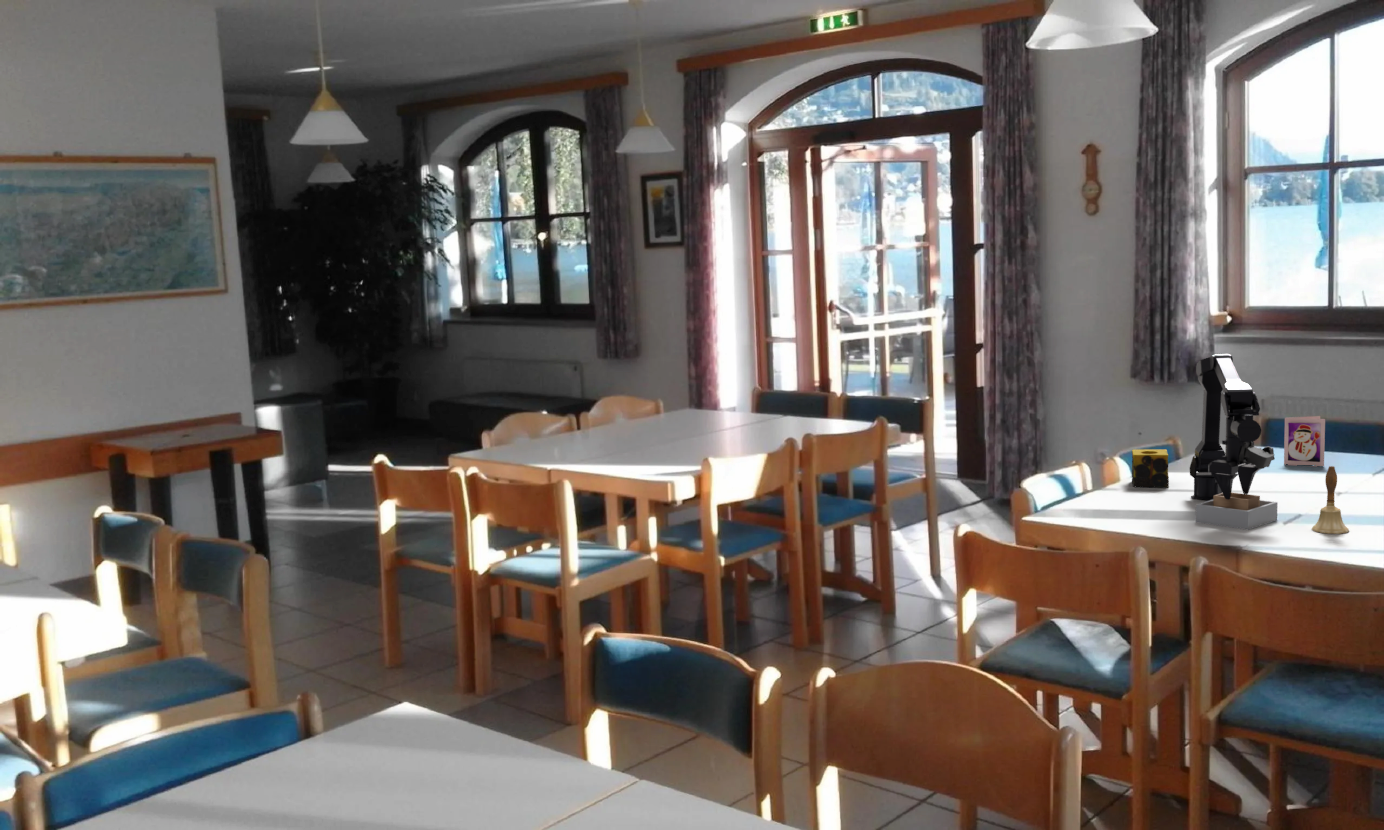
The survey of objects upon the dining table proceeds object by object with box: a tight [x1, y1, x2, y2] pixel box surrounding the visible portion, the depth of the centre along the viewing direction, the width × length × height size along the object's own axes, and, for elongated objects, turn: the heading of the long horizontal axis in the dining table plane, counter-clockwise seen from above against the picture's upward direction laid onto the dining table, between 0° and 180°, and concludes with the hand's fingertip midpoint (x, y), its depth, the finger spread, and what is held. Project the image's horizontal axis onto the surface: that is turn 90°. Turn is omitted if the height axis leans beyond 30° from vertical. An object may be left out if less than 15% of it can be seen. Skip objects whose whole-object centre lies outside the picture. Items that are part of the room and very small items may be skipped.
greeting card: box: [1283, 415, 1326, 467], centre depth 408 cm, size 11×7×15 cm, turn 58°
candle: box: [1131, 448, 1170, 489], centre depth 386 cm, size 10×10×10 cm
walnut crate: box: [1213, 491, 1261, 511], centre depth 334 cm, size 9×6×6 cm
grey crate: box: [1195, 499, 1278, 531], centre depth 334 cm, size 14×15×5 cm
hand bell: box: [1311, 465, 1350, 535], centre depth 319 cm, size 8×8×16 cm
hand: (1236, 496), depth 334 cm, fingers open, 9 cm apart
